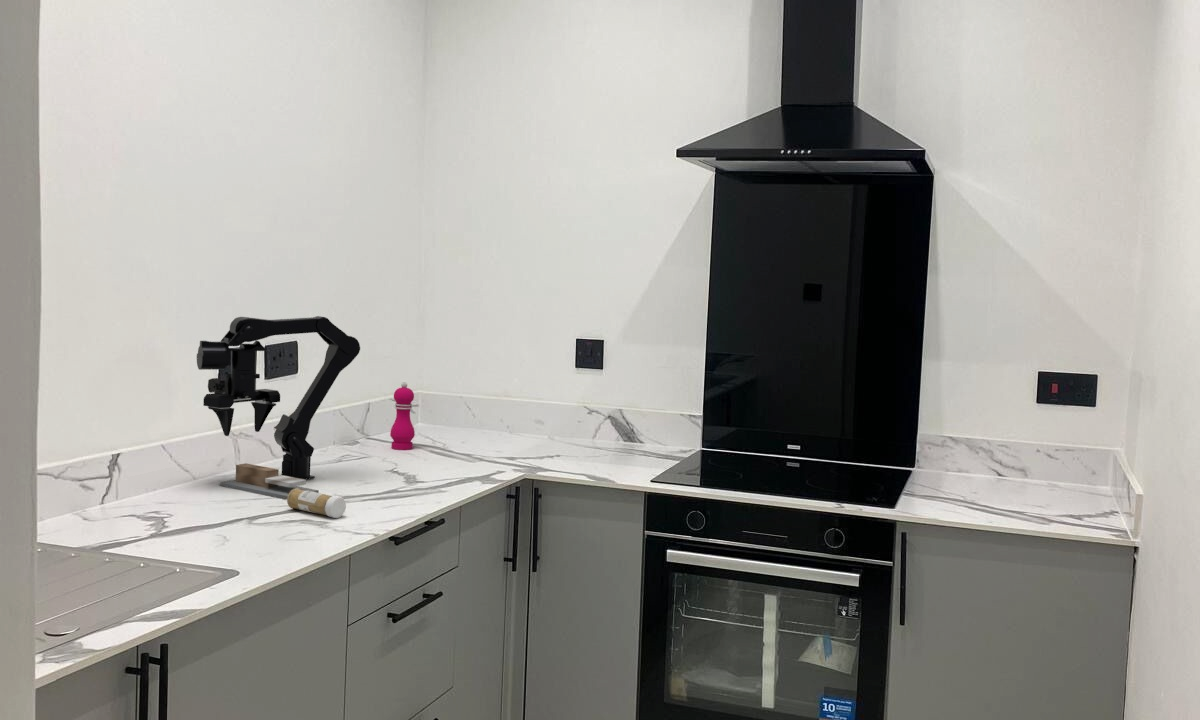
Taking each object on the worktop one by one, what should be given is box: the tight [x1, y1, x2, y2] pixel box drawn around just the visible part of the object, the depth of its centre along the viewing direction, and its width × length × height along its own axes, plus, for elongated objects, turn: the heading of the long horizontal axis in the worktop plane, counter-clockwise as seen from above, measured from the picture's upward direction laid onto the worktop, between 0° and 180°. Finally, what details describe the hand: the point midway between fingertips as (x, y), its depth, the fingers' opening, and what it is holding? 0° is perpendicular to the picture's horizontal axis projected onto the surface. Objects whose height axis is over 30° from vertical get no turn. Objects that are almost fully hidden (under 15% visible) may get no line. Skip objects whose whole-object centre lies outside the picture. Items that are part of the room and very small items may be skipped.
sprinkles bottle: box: [286, 488, 347, 519], centre depth 213 cm, size 5×5×14 cm
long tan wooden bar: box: [235, 463, 307, 488], centre depth 233 cm, size 19×5×4 cm, turn 61°
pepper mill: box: [389, 382, 416, 451], centre depth 297 cm, size 7×7×20 cm
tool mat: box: [219, 478, 320, 501], centre depth 233 cm, size 9×23×1 cm, turn 61°
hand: (242, 433), depth 238 cm, fingers open, 9 cm apart
